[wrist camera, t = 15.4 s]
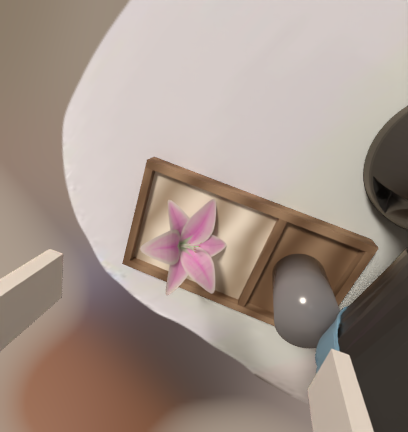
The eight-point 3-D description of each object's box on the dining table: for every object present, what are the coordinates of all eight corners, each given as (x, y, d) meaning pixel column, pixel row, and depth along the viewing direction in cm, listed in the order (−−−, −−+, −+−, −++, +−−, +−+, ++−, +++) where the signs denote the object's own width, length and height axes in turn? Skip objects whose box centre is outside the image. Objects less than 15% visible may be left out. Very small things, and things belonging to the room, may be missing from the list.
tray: (371, 239, 35) (378, 248, 33) (310, 329, 42) (313, 341, 39) (154, 156, 37) (147, 159, 35) (129, 255, 43) (122, 263, 41)
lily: (215, 279, 42) (238, 304, 32) (135, 277, 39) (135, 305, 29) (223, 199, 41) (249, 202, 31) (142, 192, 38) (144, 192, 28)
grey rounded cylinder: (335, 265, 36) (356, 312, 28) (310, 304, 39) (323, 357, 31) (284, 245, 36) (290, 285, 28) (264, 285, 39) (263, 332, 31)
